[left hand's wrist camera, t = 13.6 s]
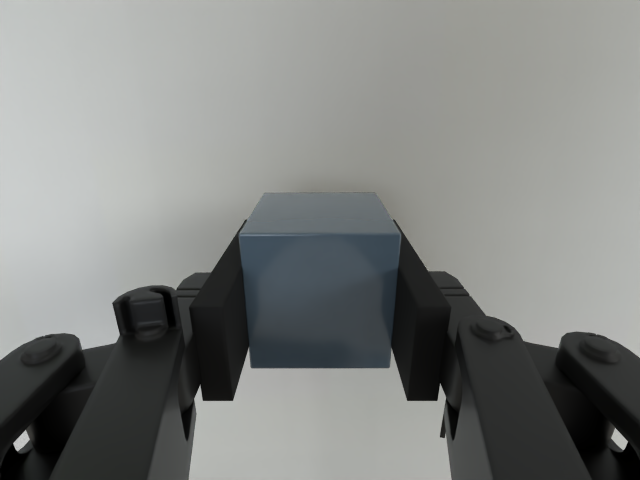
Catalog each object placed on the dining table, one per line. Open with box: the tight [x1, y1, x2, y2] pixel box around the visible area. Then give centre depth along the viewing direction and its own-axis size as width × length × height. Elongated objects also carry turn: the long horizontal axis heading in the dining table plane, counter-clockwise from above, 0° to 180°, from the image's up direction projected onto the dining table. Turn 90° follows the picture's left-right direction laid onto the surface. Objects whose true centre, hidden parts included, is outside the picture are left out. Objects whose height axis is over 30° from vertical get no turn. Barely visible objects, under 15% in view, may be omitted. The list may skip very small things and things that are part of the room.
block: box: [239, 193, 401, 368], centre depth 12 cm, size 4×4×5 cm
